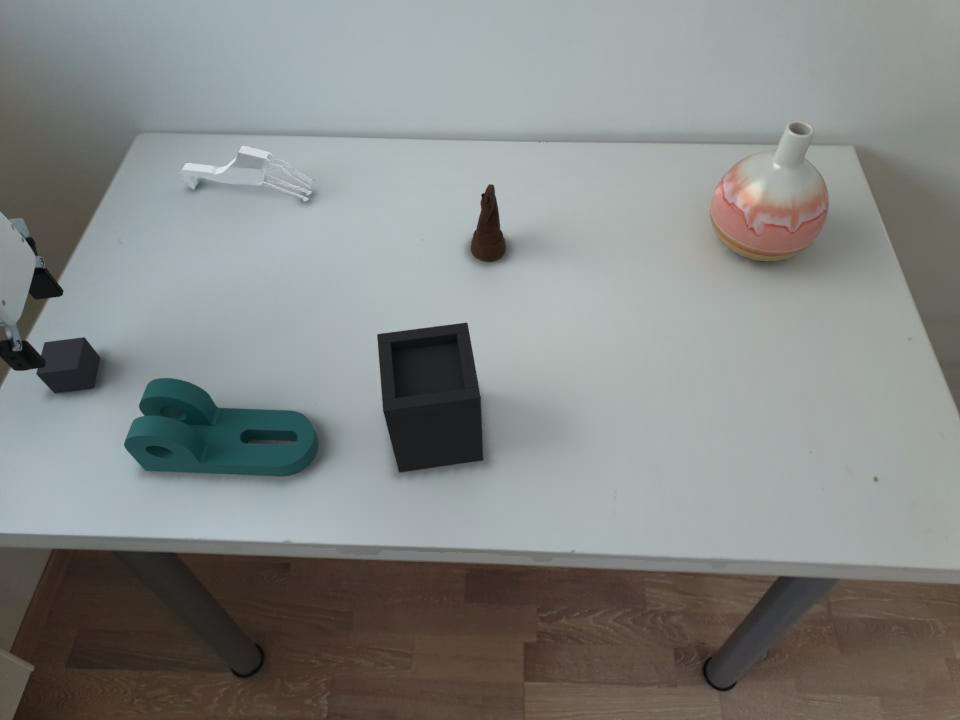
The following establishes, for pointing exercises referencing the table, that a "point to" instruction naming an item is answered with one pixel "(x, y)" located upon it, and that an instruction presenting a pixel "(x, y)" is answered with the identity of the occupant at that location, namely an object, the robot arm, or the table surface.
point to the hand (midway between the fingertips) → (40, 330)
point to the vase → (772, 200)
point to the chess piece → (488, 230)
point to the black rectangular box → (431, 396)
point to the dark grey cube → (69, 365)
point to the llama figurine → (246, 172)
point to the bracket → (215, 434)
